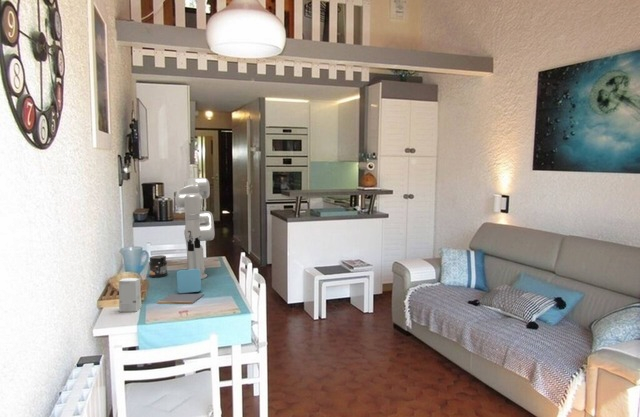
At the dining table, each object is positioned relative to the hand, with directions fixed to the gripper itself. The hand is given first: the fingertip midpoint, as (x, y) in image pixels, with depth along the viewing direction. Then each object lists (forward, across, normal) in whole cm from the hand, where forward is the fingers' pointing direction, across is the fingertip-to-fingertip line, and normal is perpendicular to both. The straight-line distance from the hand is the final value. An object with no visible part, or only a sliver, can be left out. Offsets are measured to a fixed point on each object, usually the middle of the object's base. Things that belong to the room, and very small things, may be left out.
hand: (194, 249), depth 244 cm
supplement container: (+22, -28, -36) cm, 51 cm away
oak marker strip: (+22, +27, 0) cm, 34 cm away
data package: (+22, +9, 0) cm, 23 cm away
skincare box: (+22, +37, -17) cm, 46 cm away
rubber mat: (+22, +19, 0) cm, 29 cm away
